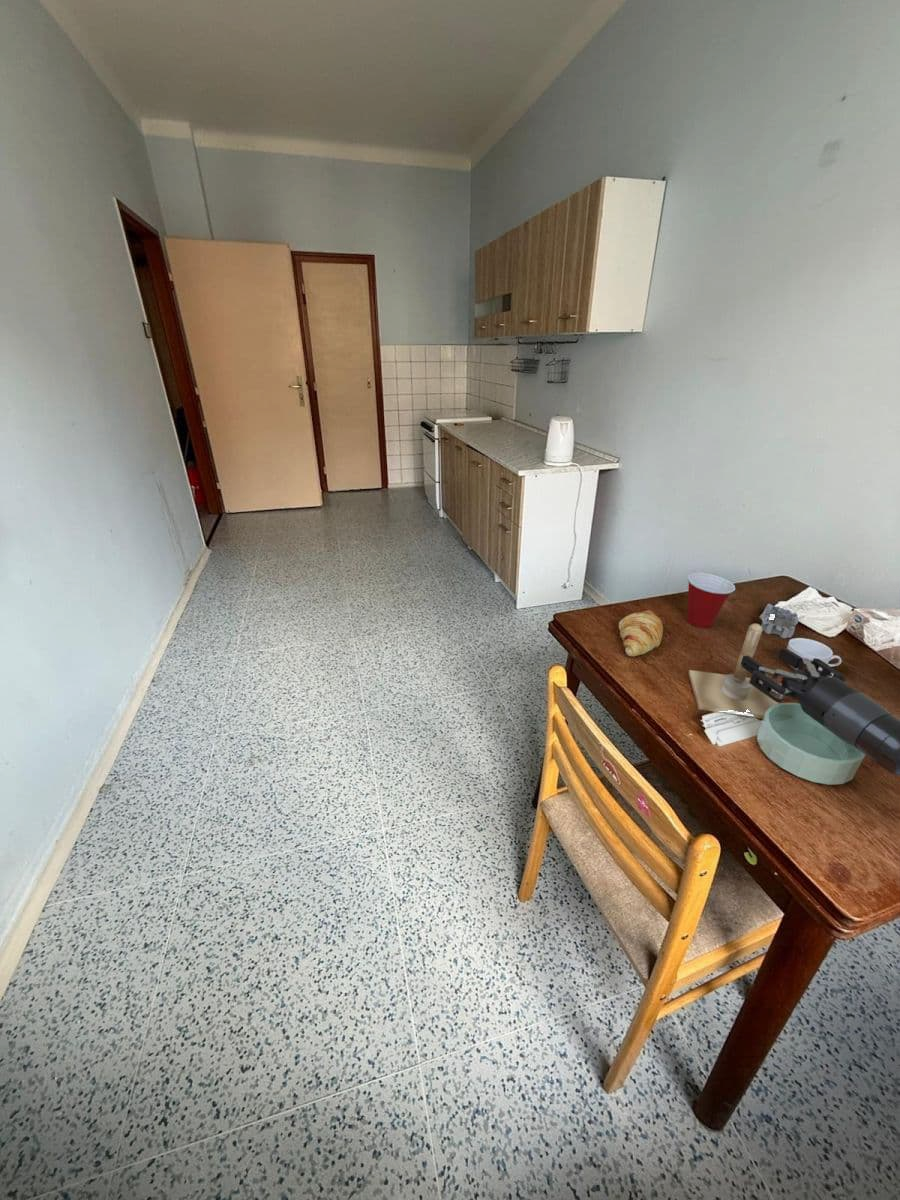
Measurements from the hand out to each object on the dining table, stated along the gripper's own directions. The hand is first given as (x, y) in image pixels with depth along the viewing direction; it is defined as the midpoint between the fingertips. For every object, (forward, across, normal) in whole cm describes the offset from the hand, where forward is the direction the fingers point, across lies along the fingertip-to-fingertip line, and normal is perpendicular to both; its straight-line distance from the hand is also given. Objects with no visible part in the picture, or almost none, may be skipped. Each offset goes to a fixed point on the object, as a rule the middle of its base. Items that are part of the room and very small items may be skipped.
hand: (762, 655), depth 88 cm
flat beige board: (+3, 0, +12) cm, 12 cm away
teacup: (+6, -22, +12) cm, 26 cm away
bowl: (-13, 0, +12) cm, 18 cm away
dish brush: (+3, 0, +11) cm, 11 cm away
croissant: (+27, +6, +12) cm, 30 cm away
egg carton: (+22, -30, +12) cm, 40 cm away
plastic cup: (+30, -14, +12) cm, 35 cm away
